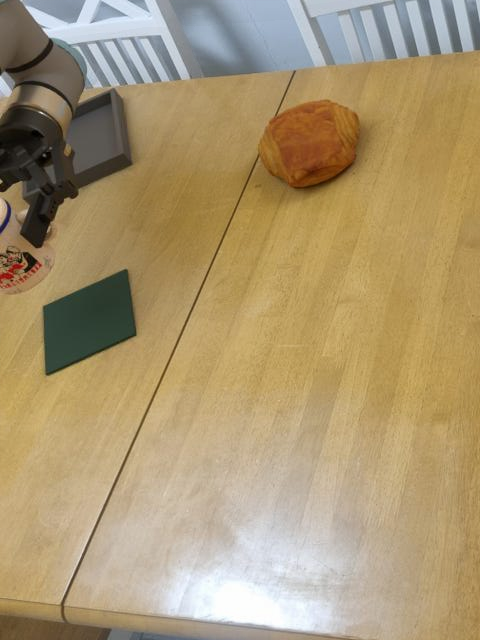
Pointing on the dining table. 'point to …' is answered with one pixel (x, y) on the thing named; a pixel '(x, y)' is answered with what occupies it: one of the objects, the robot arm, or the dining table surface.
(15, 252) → the teacup with lid
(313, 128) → the croissant
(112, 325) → the mat
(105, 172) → the tray
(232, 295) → the dining table surface
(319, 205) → the dining table surface
